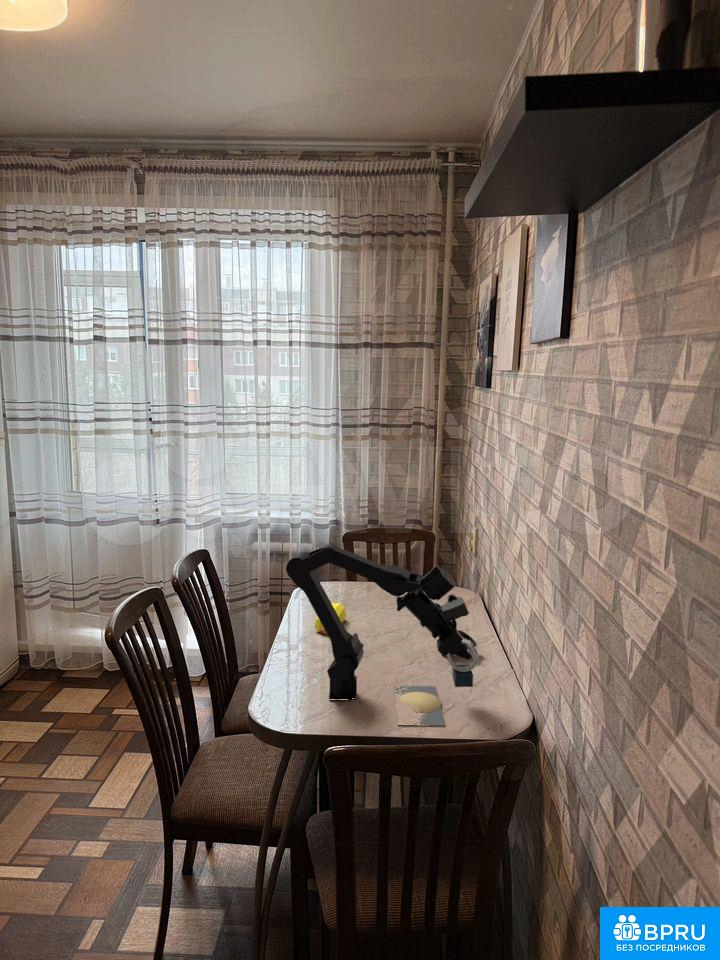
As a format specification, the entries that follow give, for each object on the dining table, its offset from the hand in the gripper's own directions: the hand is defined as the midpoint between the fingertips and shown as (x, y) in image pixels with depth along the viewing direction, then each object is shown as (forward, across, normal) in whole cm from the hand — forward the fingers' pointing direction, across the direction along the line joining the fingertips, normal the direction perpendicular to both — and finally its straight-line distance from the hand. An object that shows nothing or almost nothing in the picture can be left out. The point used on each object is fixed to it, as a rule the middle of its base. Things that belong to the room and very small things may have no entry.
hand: (468, 654), depth 162 cm
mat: (+1, -1, +18) cm, 18 cm away
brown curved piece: (+11, +29, +8) cm, 32 cm away
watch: (+5, 0, +6) cm, 8 cm away
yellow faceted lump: (-16, +53, +36) cm, 65 cm away
